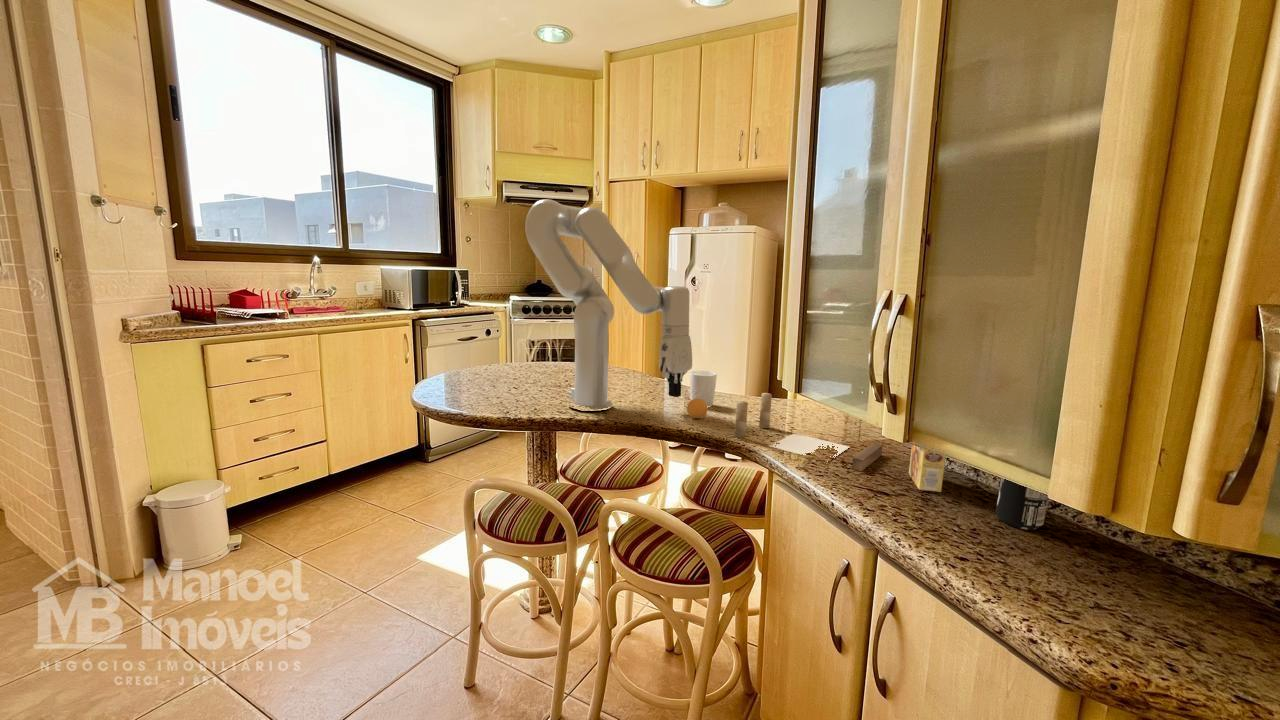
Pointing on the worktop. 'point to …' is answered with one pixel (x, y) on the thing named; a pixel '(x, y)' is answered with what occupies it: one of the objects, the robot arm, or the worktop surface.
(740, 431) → the post
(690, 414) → the ball
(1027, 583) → the worktop surface
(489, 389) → the worktop surface
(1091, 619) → the worktop surface
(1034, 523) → the beverage can
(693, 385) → the white cup
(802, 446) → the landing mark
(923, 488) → the candy box
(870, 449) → the stopper wall
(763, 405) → the post
